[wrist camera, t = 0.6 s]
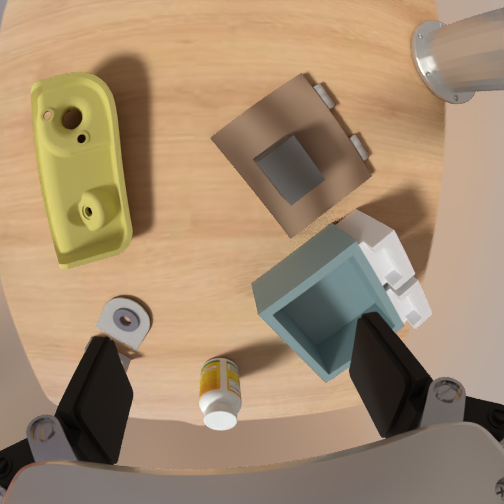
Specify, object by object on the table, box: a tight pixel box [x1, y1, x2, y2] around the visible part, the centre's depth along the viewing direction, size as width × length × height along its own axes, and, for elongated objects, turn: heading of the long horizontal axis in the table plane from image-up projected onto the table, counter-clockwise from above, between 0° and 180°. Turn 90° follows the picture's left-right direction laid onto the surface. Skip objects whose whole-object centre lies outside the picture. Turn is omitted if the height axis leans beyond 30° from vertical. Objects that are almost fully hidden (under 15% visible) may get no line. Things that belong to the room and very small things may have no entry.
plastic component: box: [31, 72, 133, 269], centre depth 27 cm, size 20×7×10 cm
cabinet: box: [252, 209, 432, 383], centre depth 33 cm, size 15×14×9 cm
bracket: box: [84, 297, 150, 372], centre depth 35 cm, size 7×10×4 cm, turn 145°
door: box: [211, 73, 372, 238], centre depth 29 cm, size 13×14×6 cm
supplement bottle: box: [199, 358, 242, 430], centre depth 36 cm, size 5×5×10 cm
